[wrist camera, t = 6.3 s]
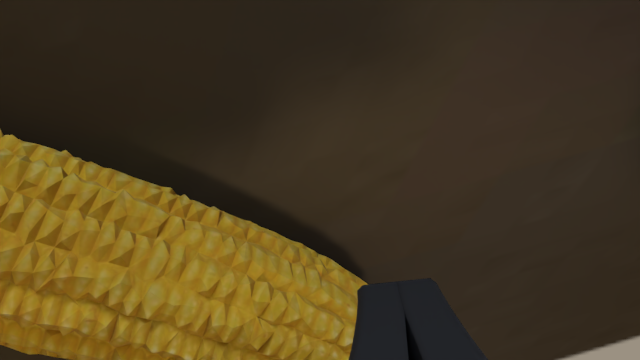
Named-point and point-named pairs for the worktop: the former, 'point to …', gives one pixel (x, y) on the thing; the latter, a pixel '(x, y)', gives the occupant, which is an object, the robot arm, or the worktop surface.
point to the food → (153, 272)
